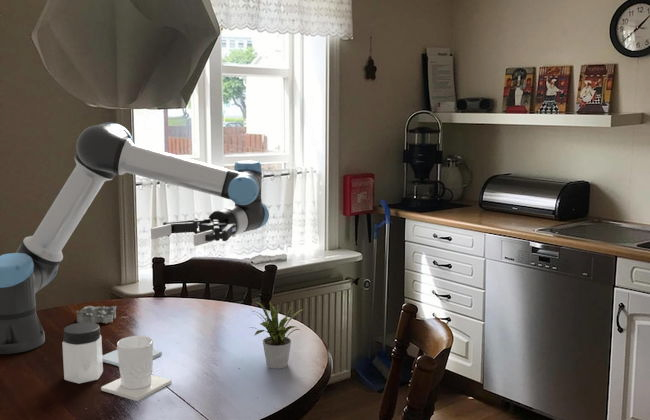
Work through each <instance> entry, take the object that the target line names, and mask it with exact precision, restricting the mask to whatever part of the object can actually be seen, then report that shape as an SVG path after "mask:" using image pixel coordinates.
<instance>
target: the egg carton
mask: <svg viewBox="0 0 650 420" xmlns="http://www.w3.org/2000/svg"><path fill="white" fill-rule="evenodd" d="M116 310H117V305H113V306H112V305H111V306H105V305H103V306H92V305H87V306H84V307H83V308H81V309H80V310H75V313H76V322H77V323H84V322H89V323H96V324H99V323H102V324H103V323H105V324H109V323H113V322H114V319H116V318H117V311H116Z"/></svg>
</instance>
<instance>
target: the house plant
mask: <svg viewBox="0 0 650 420" xmlns="http://www.w3.org/2000/svg"><path fill="white" fill-rule="evenodd" d="M254 302H255V303H256V304H258V305H259V306H260V307H261V308H262V311H263V313H264V315H265V316H266V317H264V316H263V315H262V314H261V313H259V312H256V311H255V310H252V312H254V315H255V316H257V317H259V315H260V317H261V318H262V319H261V321H262V322H261V323H259V325H261V326H263V328H265V329H266V330H265V329H258V328H256V327H255V330H256V331H255V334H254V336H253V337H255V336H257V335H259V334H261V333H264V332H266V333H268V335H269V336H266V334H265V335H264V336H266V337H264V338H263V340H262V345H263V351H264V357H265V363H266V366H267V367H268V368H270V369H274V370H277V369H283V368H286V367H288V364H289V359H290V351H291V346H292V339H291V338H290V337H289V336H290V335H291V334H292V333H294V332H295V331H299V330H300V331H301V329H299V327H298V326H294V325H290V326H287V325H288V324H289V323H290V321H291V320H292V319H293V318H294V317H296V316H297V315H298V313H301V312H302V311H304V310H305V308H304V309H303V308H302V309H300V310H297V311H296V312H295V313H293V315H292V316H291V317H290V318H289V315H290V312H291V310H292V305H291V306H290V307H289V309H288V311H287V313H286V316H285V317H284V318H282V319H280V321H279V317H278V316H279V311H280V310H281V308H280V307H281V305H279V306H278V309H277V310H276V308H275V306H274V305H273V304H272V302H270V301H269V307H270V308H269V309H270V311H269V312H270V316H269V313H268V311H267V309H266V308H265V306H264V305H263V304H262V303H261V302H258V301H255V300H254ZM282 303H283V301H281V303H280V304H282ZM255 313H257V314H255ZM258 314H259V315H258ZM270 317H271V318H270ZM263 319H264V320H265V321H264V320H263ZM249 328H250V329H251V328H252V329H254V327H252V326H251V327H249ZM294 328H295V329H294ZM292 329H293V330H292ZM289 330H291V331H290V332H289ZM287 332H288V333H287ZM286 334H287V335H286Z"/></svg>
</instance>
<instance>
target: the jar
mask: <svg viewBox="0 0 650 420" xmlns="http://www.w3.org/2000/svg"><path fill="white" fill-rule="evenodd" d="M100 327H101V326H100V325H99V323H91V322H84V323H79V322H77V323H76V322H75V323H72V324H70V325H69V324H68V325H67V326H65V327H64V328H63V329H62V330H63V334H62V335H63V341H62V343H61V344H62V360H63V376H64V377H63V379H64V380H65V381H67V382H71V383H76V384H83V383H84V384H85V383H89V382H94V381H97V380H99V378H100V377H101V376H102V374H103V372H104V366H103V365H104V364H103V363H104V362H103V359H102V356H103V344H102V343H103V342H102V340H103V339H102V335H101V328H100Z"/></svg>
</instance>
